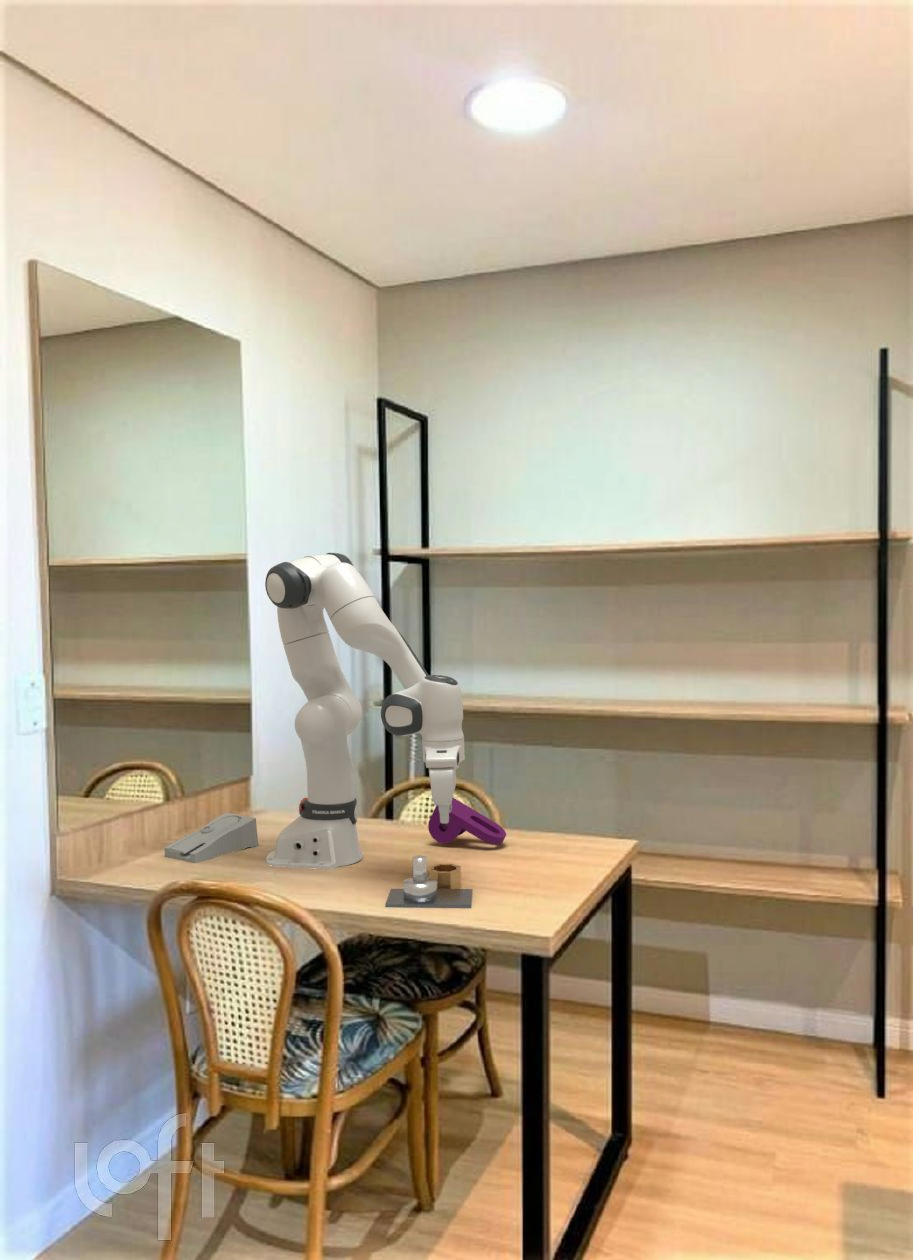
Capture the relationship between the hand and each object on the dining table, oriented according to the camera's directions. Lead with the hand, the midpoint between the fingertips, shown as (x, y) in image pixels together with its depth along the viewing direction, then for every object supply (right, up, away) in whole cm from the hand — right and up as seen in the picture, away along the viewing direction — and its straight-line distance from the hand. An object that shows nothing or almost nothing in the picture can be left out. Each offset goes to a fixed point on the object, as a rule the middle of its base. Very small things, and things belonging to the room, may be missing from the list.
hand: (446, 817), depth 207 cm
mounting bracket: (+13, -15, +35) cm, 40 cm away
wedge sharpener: (-57, -15, +32) cm, 67 cm away
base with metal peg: (-3, -15, -8) cm, 18 cm away
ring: (0, -15, +1) cm, 15 cm away
